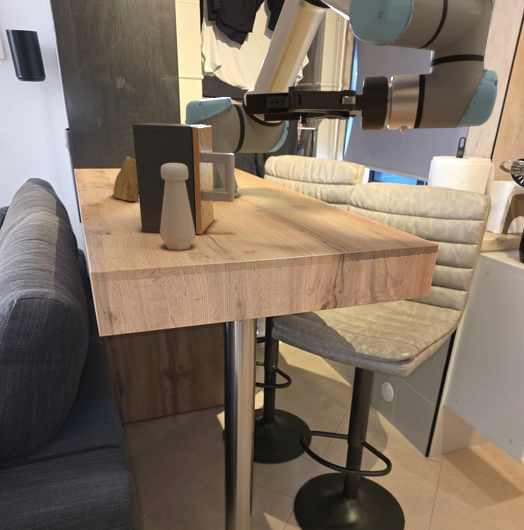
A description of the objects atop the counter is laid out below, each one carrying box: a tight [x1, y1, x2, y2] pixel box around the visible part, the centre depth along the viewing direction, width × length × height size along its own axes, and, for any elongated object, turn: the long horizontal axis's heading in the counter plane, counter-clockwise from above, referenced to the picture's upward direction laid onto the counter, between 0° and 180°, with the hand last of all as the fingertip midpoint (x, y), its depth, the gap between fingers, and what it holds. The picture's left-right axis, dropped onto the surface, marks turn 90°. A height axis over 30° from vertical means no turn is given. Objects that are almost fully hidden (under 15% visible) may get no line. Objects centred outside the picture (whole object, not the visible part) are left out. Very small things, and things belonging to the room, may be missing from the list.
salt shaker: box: [159, 163, 196, 251], centre depth 73 cm, size 6×6×13 cm
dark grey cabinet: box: [131, 122, 205, 235], centre depth 86 cm, size 10×13×18 cm
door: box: [192, 126, 235, 235], centre depth 85 cm, size 7×13×18 cm, turn 176°
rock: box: [111, 155, 139, 202], centre depth 113 cm, size 11×9×10 cm
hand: (255, 109), depth 76 cm, fingers open, 13 cm apart
